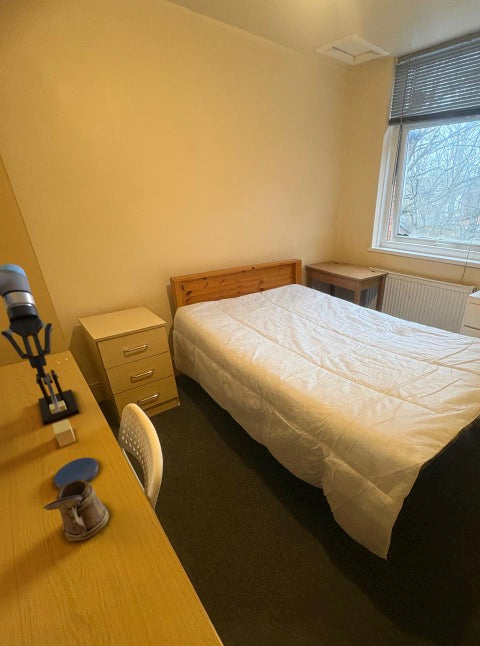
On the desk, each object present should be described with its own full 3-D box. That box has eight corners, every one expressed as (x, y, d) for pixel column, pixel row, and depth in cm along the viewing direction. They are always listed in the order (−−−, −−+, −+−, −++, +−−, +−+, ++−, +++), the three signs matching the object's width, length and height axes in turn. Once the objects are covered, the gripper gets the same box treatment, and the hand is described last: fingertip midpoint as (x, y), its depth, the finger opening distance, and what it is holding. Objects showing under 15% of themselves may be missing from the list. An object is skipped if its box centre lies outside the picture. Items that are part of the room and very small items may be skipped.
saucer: (46, 489, 83) (44, 486, 82) (71, 460, 91) (69, 457, 91) (85, 490, 83) (83, 487, 82) (105, 460, 91) (104, 457, 91)
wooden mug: (59, 568, 66) (25, 511, 57) (67, 515, 76) (39, 460, 68) (108, 549, 69) (83, 492, 61) (109, 500, 80) (88, 446, 72)
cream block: (67, 412, 108) (64, 405, 106) (53, 417, 106) (50, 409, 104) (66, 407, 110) (63, 400, 109) (52, 412, 108) (49, 404, 107)
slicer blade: (71, 414, 105) (70, 411, 103) (49, 421, 102) (47, 418, 100) (57, 374, 110) (56, 370, 108) (36, 380, 107) (34, 376, 105)
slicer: (79, 413, 110) (66, 379, 104) (44, 425, 104) (28, 390, 98) (72, 392, 121) (60, 360, 115) (39, 402, 115) (25, 369, 109)
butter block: (60, 447, 96) (54, 434, 94) (57, 436, 100) (52, 424, 98) (75, 441, 98) (70, 428, 96) (72, 431, 102) (67, 418, 100)
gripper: (48, 311, 109) (69, 373, 105) (-1, 319, 102) (18, 386, 98) (44, 300, 103) (65, 365, 99) (-10, 308, 96) (11, 379, 92)
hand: (42, 376), depth 98 cm, fingers closed
